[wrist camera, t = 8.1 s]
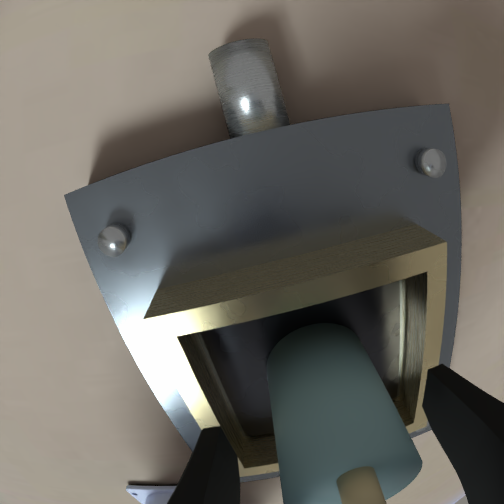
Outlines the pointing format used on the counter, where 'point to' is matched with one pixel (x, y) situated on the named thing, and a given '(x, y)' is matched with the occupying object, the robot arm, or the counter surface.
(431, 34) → the counter surface
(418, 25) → the counter surface
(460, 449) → the robot arm
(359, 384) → the spout can
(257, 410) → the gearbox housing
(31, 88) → the counter surface
